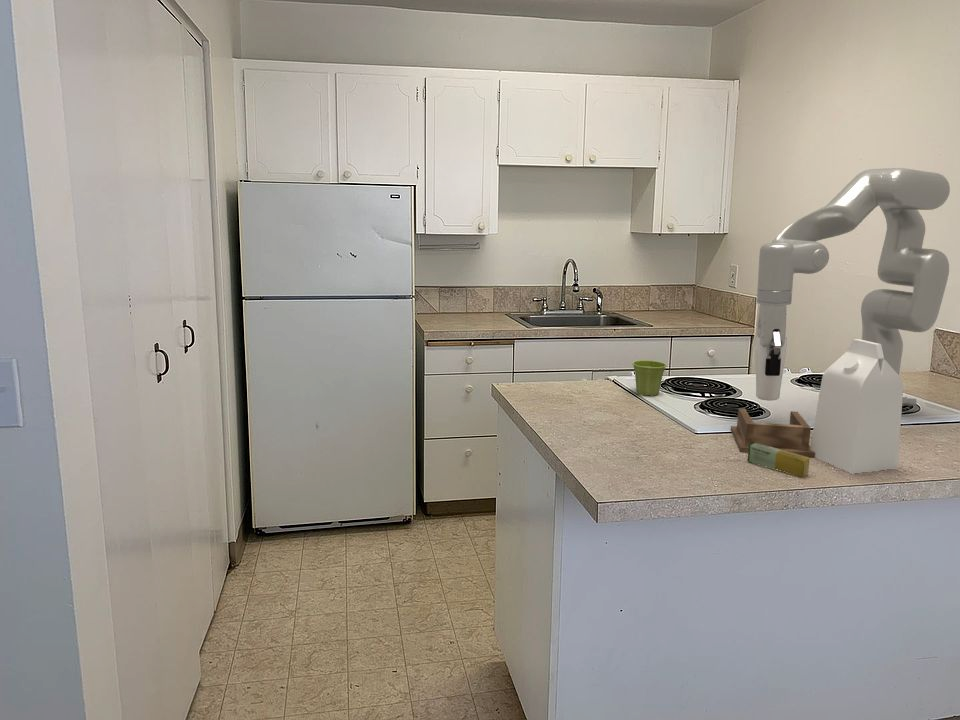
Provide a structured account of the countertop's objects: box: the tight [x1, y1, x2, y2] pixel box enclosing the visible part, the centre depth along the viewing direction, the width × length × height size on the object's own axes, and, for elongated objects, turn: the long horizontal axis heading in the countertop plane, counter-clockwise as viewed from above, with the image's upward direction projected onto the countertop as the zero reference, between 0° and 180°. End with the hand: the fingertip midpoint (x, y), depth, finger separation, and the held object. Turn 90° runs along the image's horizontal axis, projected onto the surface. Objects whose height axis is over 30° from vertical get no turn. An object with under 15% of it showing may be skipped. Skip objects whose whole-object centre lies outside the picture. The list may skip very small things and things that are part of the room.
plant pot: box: [631, 359, 667, 397], centre depth 203 cm, size 9×9×9 cm
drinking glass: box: [754, 336, 788, 402], centre depth 171 cm, size 7×7×15 cm
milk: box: [810, 338, 904, 475], centre depth 149 cm, size 12×12×26 cm
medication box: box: [747, 442, 811, 478], centre depth 147 cm, size 12×3×4 cm, turn 41°
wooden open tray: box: [730, 407, 815, 458], centre depth 162 cm, size 15×16×6 cm
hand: (769, 370), depth 172 cm, fingers closed on drinking glass, 6 cm apart
